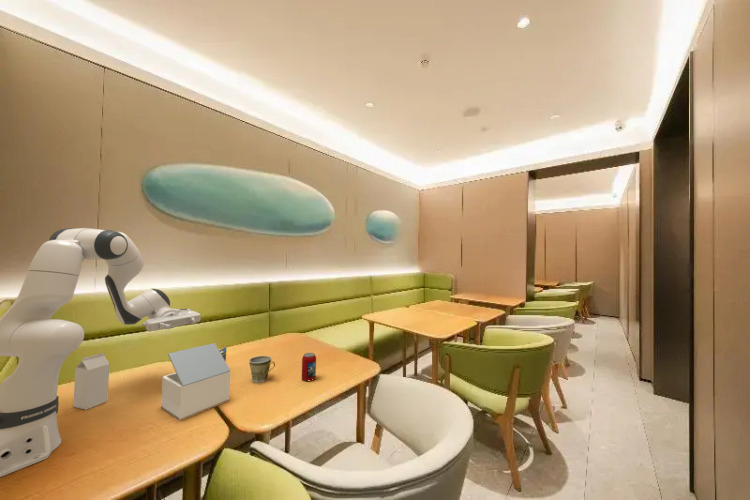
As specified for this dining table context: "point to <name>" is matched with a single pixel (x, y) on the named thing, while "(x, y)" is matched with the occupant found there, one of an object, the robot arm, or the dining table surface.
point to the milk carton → (91, 382)
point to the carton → (193, 395)
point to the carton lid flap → (198, 363)
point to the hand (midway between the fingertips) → (181, 324)
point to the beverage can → (308, 366)
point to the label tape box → (223, 353)
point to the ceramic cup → (260, 368)
